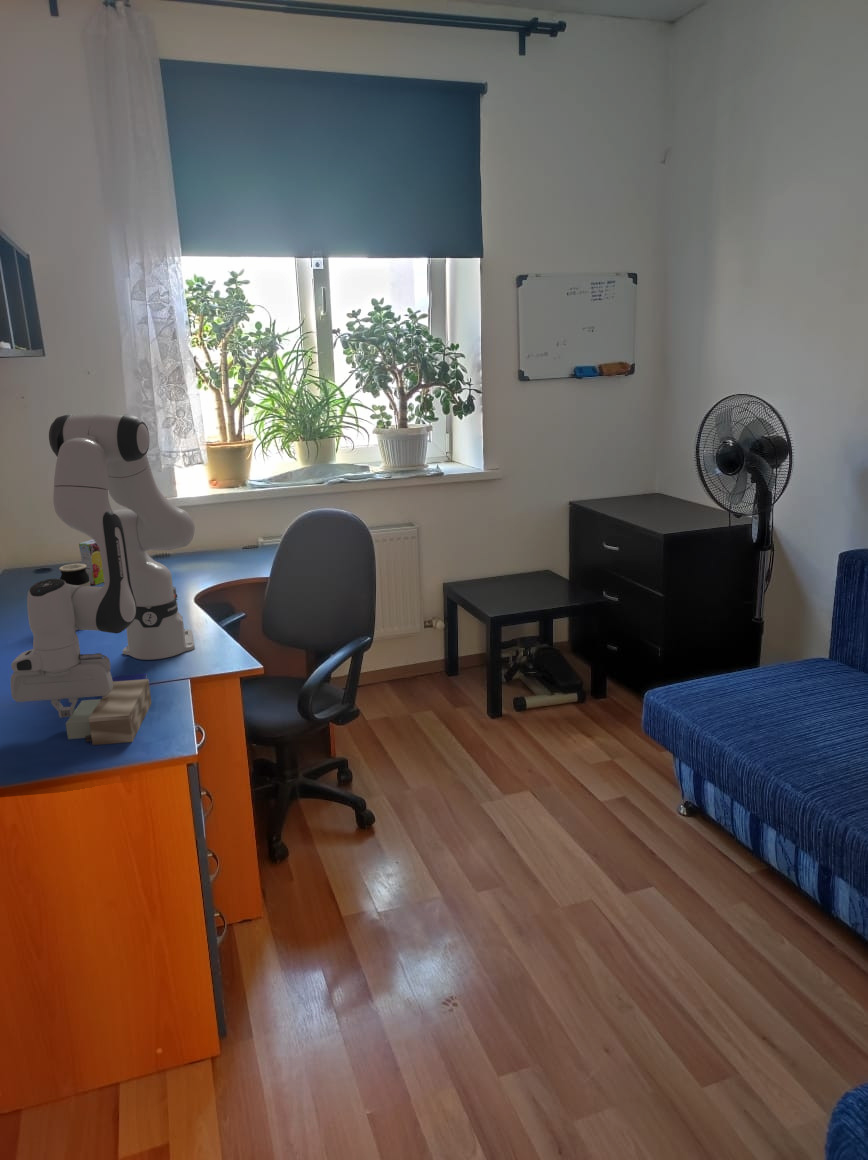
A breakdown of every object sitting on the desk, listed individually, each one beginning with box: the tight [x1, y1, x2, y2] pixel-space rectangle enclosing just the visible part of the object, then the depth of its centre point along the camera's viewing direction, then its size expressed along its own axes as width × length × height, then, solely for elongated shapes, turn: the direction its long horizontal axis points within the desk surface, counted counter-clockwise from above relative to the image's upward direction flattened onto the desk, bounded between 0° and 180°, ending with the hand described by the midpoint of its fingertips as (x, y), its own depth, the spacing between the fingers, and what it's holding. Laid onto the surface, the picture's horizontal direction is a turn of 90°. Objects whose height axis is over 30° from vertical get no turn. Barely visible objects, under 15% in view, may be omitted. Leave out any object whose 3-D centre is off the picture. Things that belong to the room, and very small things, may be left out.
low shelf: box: [84, 678, 152, 746], centre depth 184 cm, size 20×10×6 cm, turn 7°
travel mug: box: [58, 563, 91, 586], centre depth 251 cm, size 8×8×18 cm
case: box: [65, 698, 101, 740], centre depth 184 cm, size 12×9×4 cm
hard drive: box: [112, 673, 148, 682], centre depth 205 cm, size 2×8×12 cm
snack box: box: [78, 539, 104, 586], centre depth 305 cm, size 21×6×15 cm, turn 154°
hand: (67, 716), depth 183 cm, fingers closed
